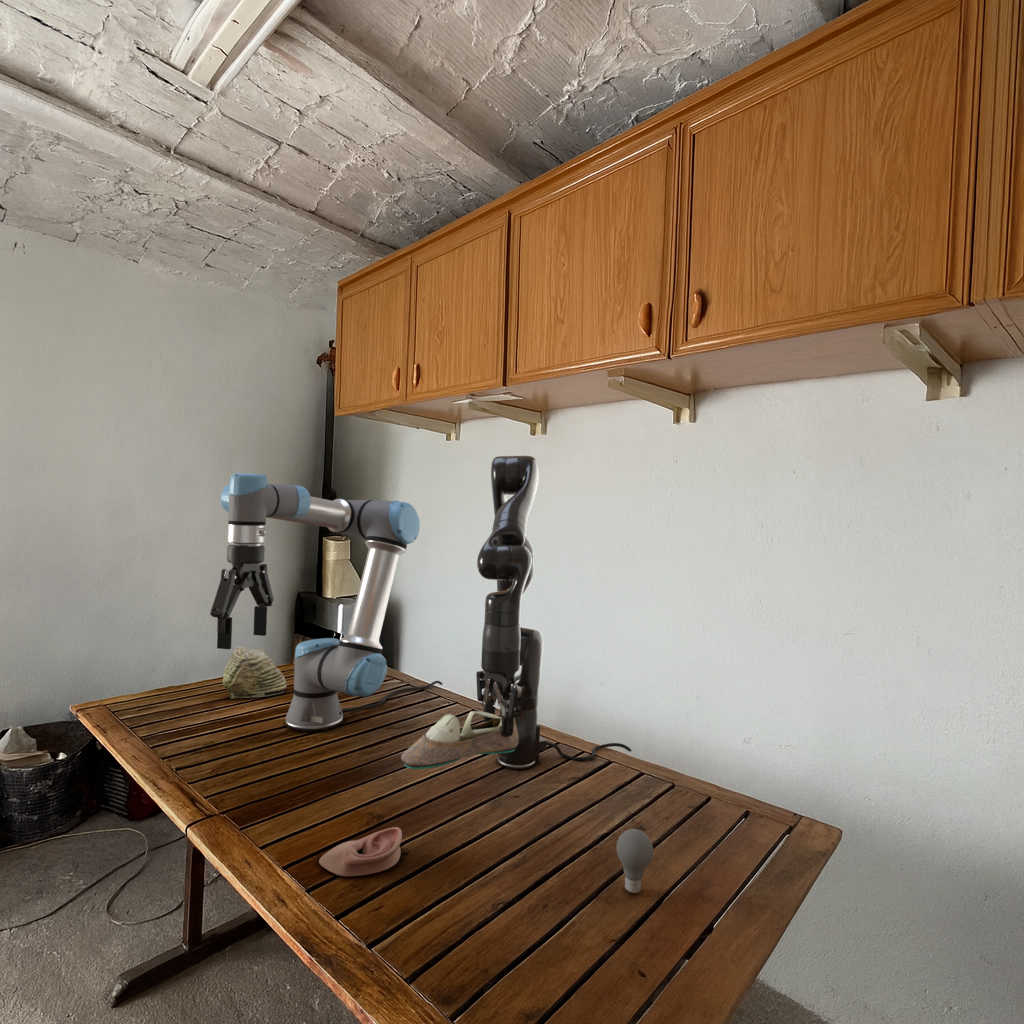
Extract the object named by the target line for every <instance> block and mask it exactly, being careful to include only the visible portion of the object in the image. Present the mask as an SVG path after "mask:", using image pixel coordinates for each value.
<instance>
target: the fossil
mask: <svg viewBox="0 0 1024 1024" xmlns="http://www.w3.org/2000/svg"><path fill="white" fill-rule="evenodd" d="M222 676H223V677H222V685H223V687H224V688H225V690H226V691H228V693H229V698H230V699H250V698H264V697H271V696H275V695H281V694H284V693H285V691H286V689H287V687H288V686H287V680H286V678H285V676H284V674H283V673H282V672H281V669H279V668H278V667H277V665H276V663H275V662H274V660H273V659H272V658H271V657H270V656H269V655H268V654H267V653H266V652H265V650H264V649H263V648H260V647H258V648H251V647H247V646H246V647H245V646H238V647H237V648H236V649H235V650H233V651H232V653H231V656H230V657H229V659H228V660H227V663H226V666H225V668H224V671H223V675H222Z"/></svg>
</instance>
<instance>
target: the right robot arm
mask: <svg viewBox="0 0 1024 1024" xmlns="http://www.w3.org/2000/svg"><path fill="white" fill-rule="evenodd" d="M539 475H540V474H539V465H538V462H537V460H536V458H535V457H534V456H531V455H499V456H495V457H494V458H493V459H492V461H491V466H490V480H491V493H492V502H493V511H494V519H493V524H492V528H491V533H490V535H489V536H488V538H487V539H486V541H485V542H484V543H483V545H482V546H481V548H480V550H479V553H478V555H477V560H476V567H477V571H478V573H479V575H480V576H481V577H482V578H484V579H485V580H490V581H496V590H497V591H493V592H489V593H488V594H487V595H486V597H485V600H484V622H483V630H482V638H481V639H482V640H481V662H480V668H481V669H482V670H479V671H476V673H475V676H476V677H475V679H476V696H477V698H476V699H477V701H478V702H481V706H482V707H483V712H486V713H490V714H494V715H496V706H495V705H496V702H497V705H498V707H499V716H500V715H502V716H503V717H502V733H501V735H502V736H503V737H509V736H512V734H513V728H514V727H513V726H514V718H515V722H516V727H517V732H518V737H519V738H518V740H519V741H518V745H517V746H516V747H515V750H514V751H513V752H509V753H500V754H497V763H498V764H499V765H500V766H501V767H504V768H507V769H511V770H526V769H530V768H532V767H534V766H536V765H537V764H539V762H540V752H543V751H547V749H548V746H549V747H552V748H553V749H555V750H556V751H557V753H558V754H559V755H560V756H561V757H563V758H565V759H568V760H572V761H579V762H581V761H582V762H583V761H590V760H593V759H594V758H595V757H596V753H597V752H596V751H597V750H600V749H605V748H610V747H611V748H612V747H619V748H623V749H625V750H626V751H627V752H633V750H632V749H631V747H629V746H627V744H624V743H620V742H610V743H603V744H599V745H596V746H594V747H593V748H592V753H591V755H588V756H572V755H568V754H566V753H563V751H562V749H561V748H560V747H559V746H558V745H557V744H555V743H553V742H550V741H548V740H547V739H546V738H544V737H543V736H541V725H540V723H538V712H539V711H538V710H539V689H540V683H541V677H542V667H543V665H542V664H543V656H544V638H543V637H544V636H543V634H542V632H541V631H540V630H538V629H536V628H531V627H525V626H524V627H523V626H521V608H522V599H523V597H524V595H525V594H526V592H527V590H528V589H529V587H530V586H531V584H532V582H533V579H534V576H535V558H534V555H535V554H534V547H533V545H532V543H531V541H530V539H529V538H528V537H527V526H528V518H529V515H530V511H531V508H532V507H533V504H534V500H535V497H536V494H537V490H538V486H539V479H540V478H539ZM508 496H511V497H509V498H507V497H508ZM520 667H521V668H520ZM519 670H520V674H516V673H517V672H518V671H519ZM482 719H483V723H484V722H487V721H489V720H492V719H494V718H490V717H486V716H483V717H482Z"/></svg>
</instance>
